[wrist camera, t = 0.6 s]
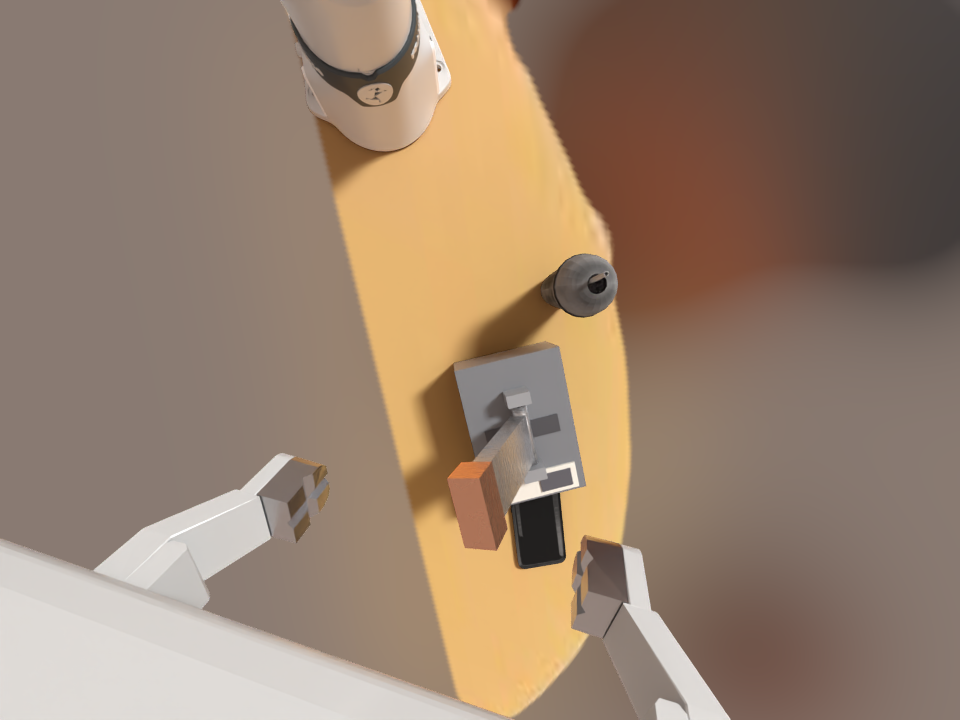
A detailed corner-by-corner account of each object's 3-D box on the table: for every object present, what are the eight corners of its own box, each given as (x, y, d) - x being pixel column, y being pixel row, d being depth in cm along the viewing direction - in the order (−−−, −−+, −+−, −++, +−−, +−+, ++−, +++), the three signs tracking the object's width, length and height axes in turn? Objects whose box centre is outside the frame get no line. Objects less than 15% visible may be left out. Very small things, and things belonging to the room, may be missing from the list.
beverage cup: (561, 324, 55) (623, 335, 35) (521, 296, 54) (562, 291, 34) (589, 283, 54) (669, 270, 35) (550, 254, 53) (609, 224, 34)
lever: (509, 403, 49) (445, 473, 33) (532, 401, 48) (477, 473, 31) (521, 459, 50) (465, 552, 34) (544, 459, 49) (497, 555, 33)
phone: (558, 475, 58) (566, 562, 60) (556, 472, 59) (564, 557, 61) (508, 483, 57) (518, 570, 59) (507, 479, 58) (517, 565, 60)
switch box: (453, 363, 54) (454, 375, 45) (545, 341, 55) (566, 349, 45) (483, 486, 58) (490, 523, 48) (569, 464, 58) (594, 496, 48)
